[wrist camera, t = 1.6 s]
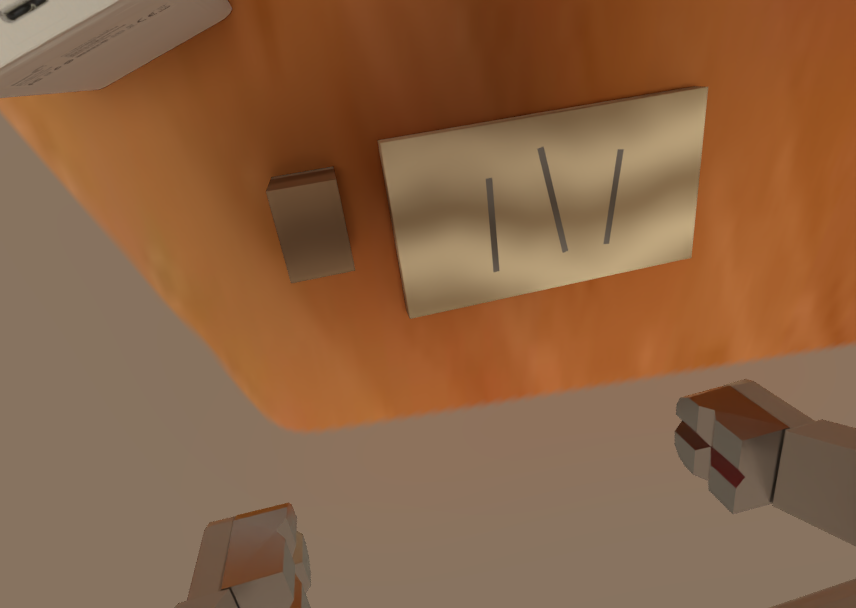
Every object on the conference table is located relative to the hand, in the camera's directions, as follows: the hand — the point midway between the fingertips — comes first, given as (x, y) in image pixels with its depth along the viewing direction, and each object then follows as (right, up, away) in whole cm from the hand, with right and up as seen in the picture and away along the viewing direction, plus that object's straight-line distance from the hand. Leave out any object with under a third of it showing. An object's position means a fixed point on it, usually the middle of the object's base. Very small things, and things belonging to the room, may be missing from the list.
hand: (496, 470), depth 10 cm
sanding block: (-8, +9, +20) cm, 23 cm away
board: (+6, +10, +22) cm, 25 cm away
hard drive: (-15, +16, +15) cm, 27 cm away
